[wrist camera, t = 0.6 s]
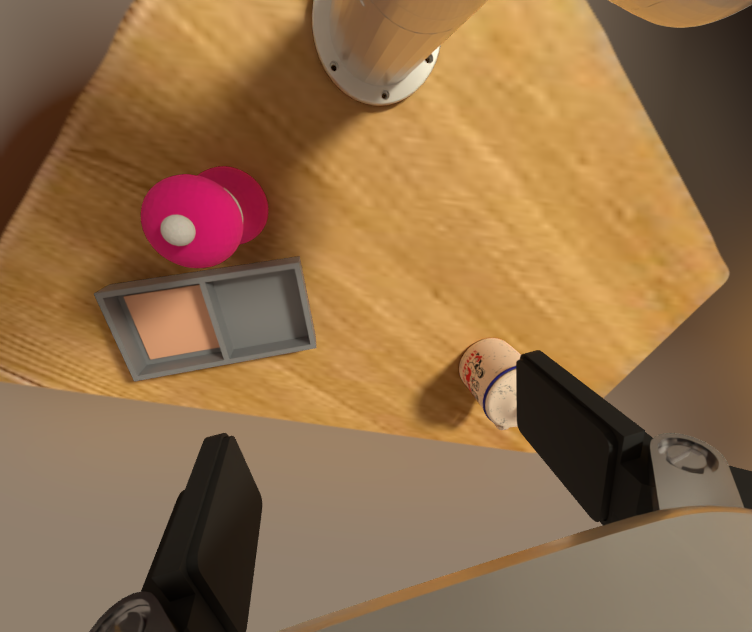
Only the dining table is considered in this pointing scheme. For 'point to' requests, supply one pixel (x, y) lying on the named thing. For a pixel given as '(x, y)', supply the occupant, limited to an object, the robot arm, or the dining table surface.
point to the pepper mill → (203, 215)
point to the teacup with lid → (492, 379)
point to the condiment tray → (209, 317)
